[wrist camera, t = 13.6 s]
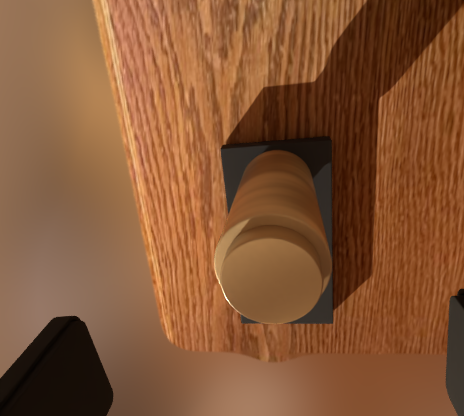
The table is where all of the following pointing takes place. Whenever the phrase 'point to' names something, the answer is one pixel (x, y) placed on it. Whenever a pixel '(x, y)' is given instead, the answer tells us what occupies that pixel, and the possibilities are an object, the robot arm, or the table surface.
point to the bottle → (274, 242)
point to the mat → (320, 166)
